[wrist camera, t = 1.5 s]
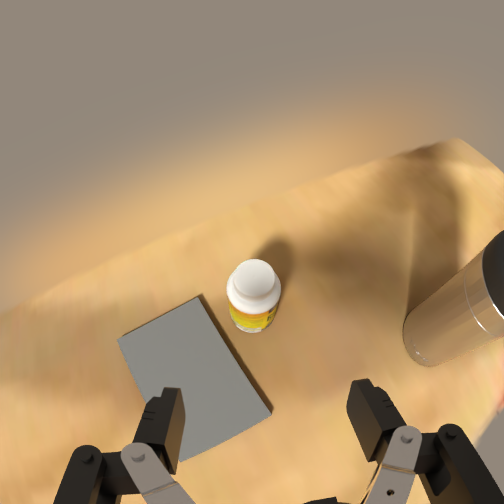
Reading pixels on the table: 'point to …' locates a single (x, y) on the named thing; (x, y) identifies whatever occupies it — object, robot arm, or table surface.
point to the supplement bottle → (253, 295)
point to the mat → (194, 376)
